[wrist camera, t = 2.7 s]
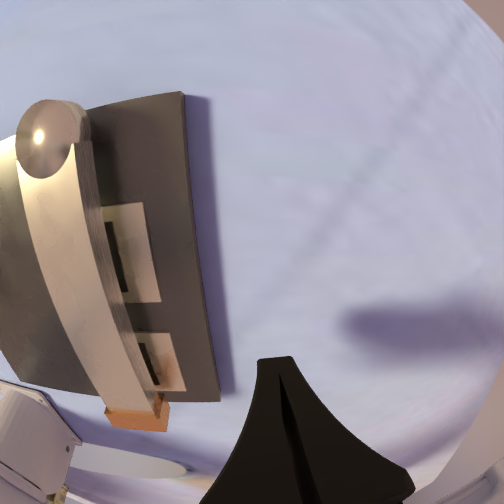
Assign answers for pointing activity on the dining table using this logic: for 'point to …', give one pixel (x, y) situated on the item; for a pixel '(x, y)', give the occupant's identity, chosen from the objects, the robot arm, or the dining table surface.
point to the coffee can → (58, 496)
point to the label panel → (119, 257)
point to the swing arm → (82, 260)
